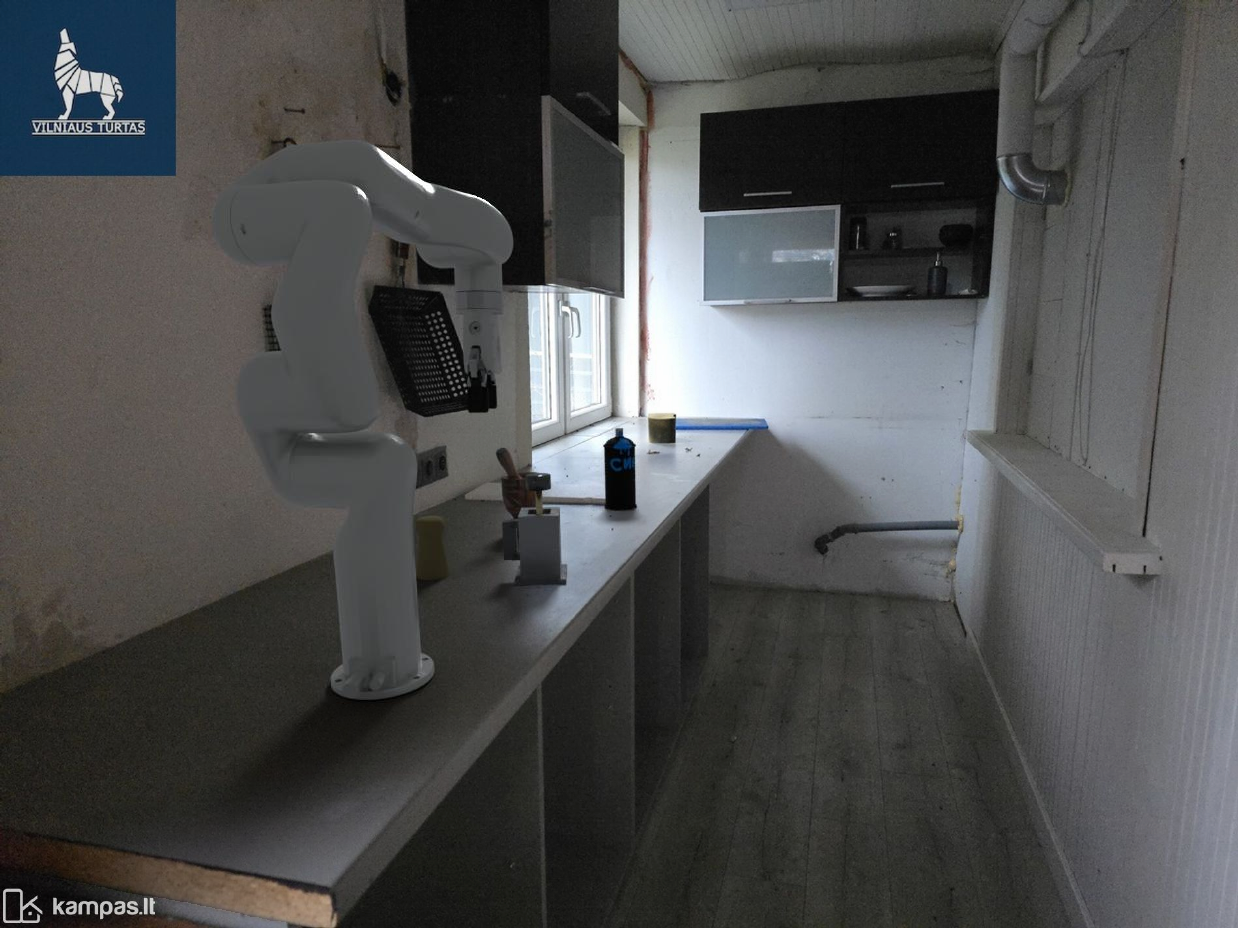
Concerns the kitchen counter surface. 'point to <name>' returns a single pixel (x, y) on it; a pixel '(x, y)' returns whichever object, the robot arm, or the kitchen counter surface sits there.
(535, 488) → the plunger
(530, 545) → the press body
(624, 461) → the aerosol can
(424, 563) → the cork
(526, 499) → the mortar and pestle
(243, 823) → the kitchen counter surface
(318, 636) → the kitchen counter surface
